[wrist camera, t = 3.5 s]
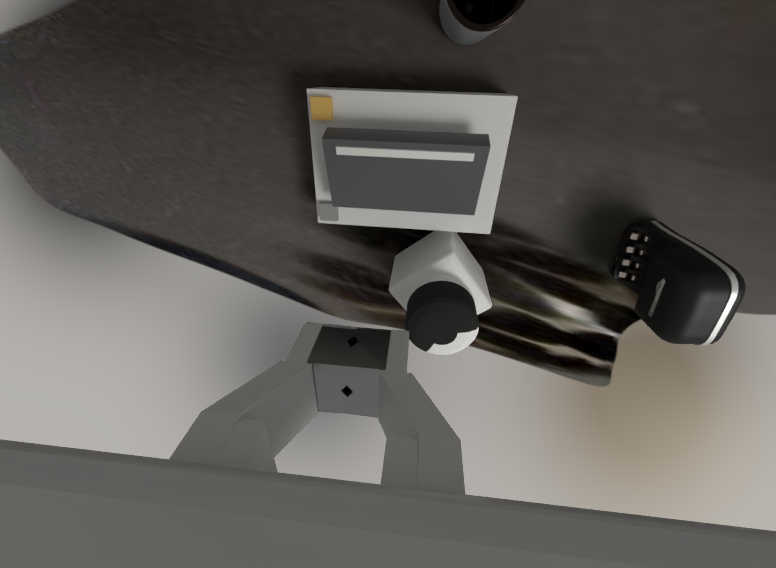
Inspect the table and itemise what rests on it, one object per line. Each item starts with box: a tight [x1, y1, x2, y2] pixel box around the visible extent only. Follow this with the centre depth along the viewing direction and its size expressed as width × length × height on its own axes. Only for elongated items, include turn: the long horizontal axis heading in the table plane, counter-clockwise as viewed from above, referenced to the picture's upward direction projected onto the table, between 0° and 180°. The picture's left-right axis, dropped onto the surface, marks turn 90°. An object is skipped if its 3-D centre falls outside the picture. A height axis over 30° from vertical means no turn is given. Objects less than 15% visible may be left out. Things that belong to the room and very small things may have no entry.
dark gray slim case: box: [322, 127, 491, 215], centre depth 27 cm, size 12×6×2 cm, turn 88°
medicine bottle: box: [389, 230, 492, 355], centre depth 32 cm, size 7×7×12 cm
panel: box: [307, 87, 518, 234], centre depth 30 cm, size 16×11×5 cm
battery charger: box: [613, 221, 745, 345], centre depth 30 cm, size 7×4×11 cm, turn 5°
